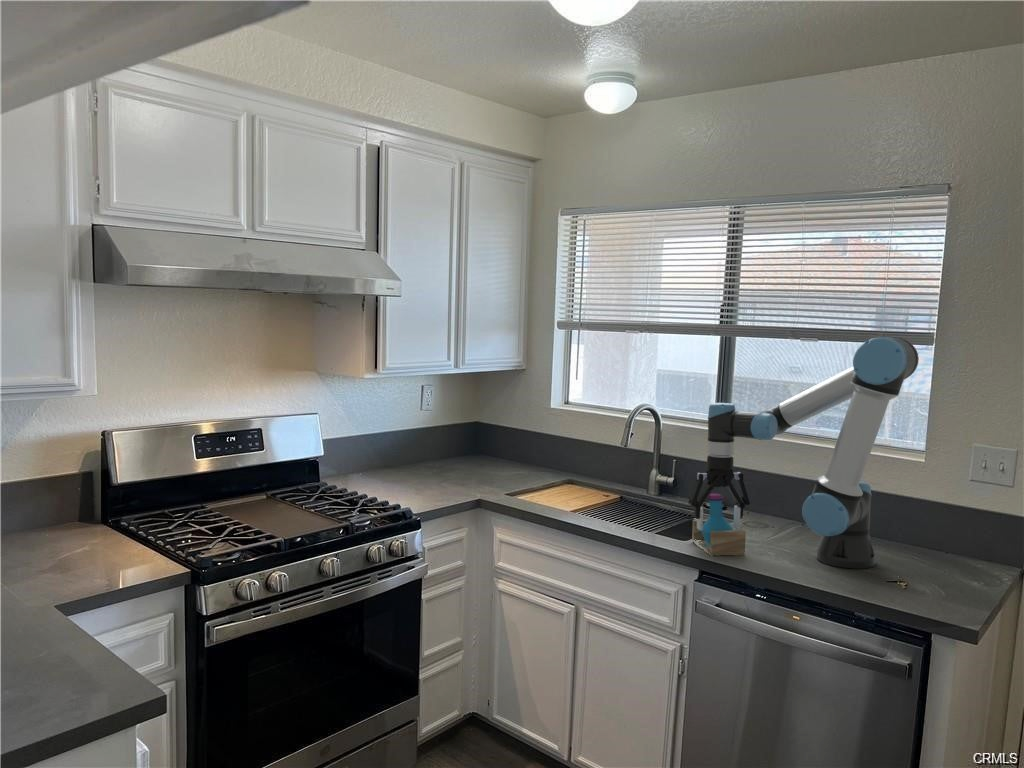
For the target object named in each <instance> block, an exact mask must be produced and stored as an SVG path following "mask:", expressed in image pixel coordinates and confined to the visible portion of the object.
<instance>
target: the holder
mask: <svg viewBox="0 0 1024 768" xmlns="http://www.w3.org/2000/svg"><path fill="white" fill-rule="evenodd" d="M707 519H708V518H706V519H704V518H703V525H704V523H705V522H706V521H707ZM691 527H692V529H691V533H692V534H691V535H692V536H691V540H695V539H696V540H701V541H699V542H698V543H699V545H701V546H702V547H703V548H704V549H705V550H706V551H707V552H708V553H710V554H711V555H733V556H745V553H746V537H747V534H746V533H747V531H746V530H744V529H736V530H734V529H733V530H730V531H711V533H710V547H709V546H707V545H706V542H707V541H705V540H704V537H703V535H702V532H701V530H699V529H697V519H692V526H691ZM696 540H695V541H696ZM701 542H702V543H701ZM708 553H707V554H708ZM711 555H710V556H711Z"/></svg>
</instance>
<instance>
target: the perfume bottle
mask: <svg viewBox="0 0 1024 768" xmlns="http://www.w3.org/2000/svg"><path fill="white" fill-rule="evenodd" d="M723 498H724V495H722V494H720V493H709V495H708V497H707V498H706V499H708V502H709V516H708V518H706V519H707V521H706V522H705V523H704V525H703V530H701V532H702V535H703V537H704V540H705V541H707V542H706V545H707V546H709V547H710V533H711V531H730V530H734V527H733V526H731V524H730V523H729V521H728V520H727V519H726V517H725V516H724V515H723V503H722V502H723Z"/></svg>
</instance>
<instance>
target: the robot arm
mask: <svg viewBox="0 0 1024 768" xmlns="http://www.w3.org/2000/svg"><path fill="white" fill-rule="evenodd" d="M919 361H920V360H919V353H918V351H917V349H916V347H915V346H914V345H913V344H912V343H911V342H910V341H908V340H906V339H904V338H901V337H893V336H892V337H890V336H889V337H888V336H876V337H873V338H870V339H868V340H866V341H864V342H863V343H862V344H860V345H859V347H857V349H856V350H855V352H854V355H853V357H852V367H848V368H847V369H846V370H843V371H842V372H839V373H837V374H836V375H833V376H831V377H830V378H828V379H826V380H824V381H822V382H819V383H818V384H815V385H814V386H811V387H810V388H808V389H806V390H804V391H802V392H800V393H798V394H796V395H794V396H792V397H790V398H788V399H786V400H785V401H783V402H780V403H779V404H777V405H775V406H773V407H770V408H769V409H766V410H759V411H740V410H739V411H738V410H736V406H735V404H734V403H728V402H712V403H711V404H710V405H708V406H709V407H708V414H707V415H708V417H707V420H708V421H707V454H708V455H707V457H706V472H702V473H701V472H696V473H695V482H694V485H693V488H692V490H691V492H690V496H689V498H688V500H687V501H688V502H687V503H688V504H689V505H690V506H692V507H693V509H694V511H693V514H694V515H693V517H694V518H695V520H697V529H699V530H703V520H704V508H703V507H702V506H703V504H704V502H705V501H706V500H707V499H708V498H707V497H708V496H709V495H710V494H711V492H712V490H714V489H715V488H721V487H723V488H726V489H727V490H728V492H729V494H730V496H731V497H732V499H733V501H734V502H735V504H736V505H734V506H733V529H734V528H735V529H736V530H741V518H744V517H743V516H744V508H745V507H746V506H749V505H750V503H751V501H750V498H749V496H748V493H747V492H748V491H747V488H746V485H745V482H744V473H743V472H740V471H736V472H734V457H733V455H735V453H734V452H735V447H734V446H735V438H743V439H754V440H759V441H764V440H765V441H770V440H774V437H776V435H780V434H782V433H784V432H786V431H787V430H788V429H790V428H792V427H795V426H796V425H798V424H800V423H802V422H804V421H806V420H809V419H810V418H812V417H815V416H817V415H819V414H821V413H823V412H825V411H827V410H829V409H831V408H834V407H835V406H837V405H840V404H842V403H843V402H846V401H848V400H850V401H849V404H848V406H847V410H846V414H845V415H844V419H843V422H842V424H841V426H840V427H841V428H840V430H839V433H838V436H837V439H836V441H835V445H834V448H833V451H832V454H831V457H830V458H829V459H830V460H829V463H828V466H827V468H826V471H825V473H824V474H823V475H820V476H818V477H817V478H816V482H815V484H814V487H813V490H812V493H811V494H810V495H809V496H807V498H806V499H805V501H804V502H803V504H802V509H801V511H802V512H801V515H802V518H803V520H804V523H805V524H806V525H807V527H808V528H809V530H811V531H812V532H814V533H815V534H817V535H820V536H821V539H820V541H819V544H818V547H817V549H816V560H818V561H820V562H822V563H824V564H826V565H829V566H834V567H837V568H844V569H857V570H858V569H870V568H873V567H875V566H876V555H875V550H874V548H873V545H872V541H871V538H870V527H871V526H870V524H871V504H872V503H871V501H872V495H873V494H872V487H871V485H870V484H869V483H867V482H864V481H862V478H863V475H864V472H865V470H866V467H867V464H868V461H869V458H870V457H871V456H870V455H871V453H872V450H873V447H874V444H875V442H876V439H877V437H878V435H879V434H878V433H879V431H880V428H881V425H882V422H883V419H884V416H885V414H886V411H887V409H888V406H889V403H890V401H891V400H892V399H895V398H897V397H899V394H900V391H901V389H902V387H903V383H904V381H905V380H906V379H908V378H910V377H911V376H912V375H913V374H914V373H915V371H916V370H917V368H918V365H919ZM733 478H734V480H735V482H736V486H737V490H738V492H739V494H738V492H737V490H736V489H735V486H734V485H733V483H732V480H733ZM705 479H707V481H706V483H705V486H704V487H703V483H704V481H705ZM702 487H703V489H702ZM701 490H702V491H701ZM739 495H740V496H739Z"/></svg>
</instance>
